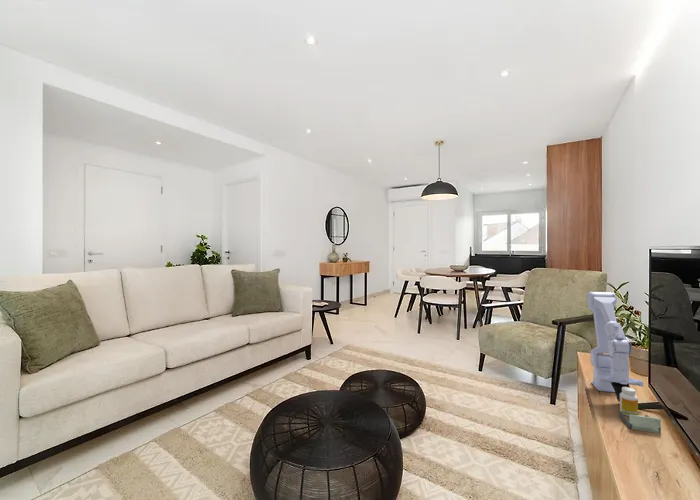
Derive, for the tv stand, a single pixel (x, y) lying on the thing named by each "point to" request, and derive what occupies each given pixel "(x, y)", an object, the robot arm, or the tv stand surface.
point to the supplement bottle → (628, 401)
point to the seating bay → (642, 423)
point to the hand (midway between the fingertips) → (620, 400)
